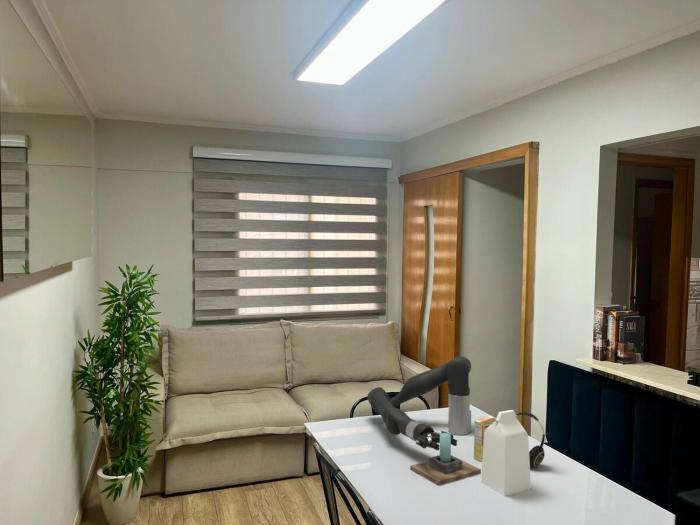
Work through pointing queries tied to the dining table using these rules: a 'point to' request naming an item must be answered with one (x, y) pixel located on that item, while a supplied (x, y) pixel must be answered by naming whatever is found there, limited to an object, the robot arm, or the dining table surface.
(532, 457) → the headphones
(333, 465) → the dining table surface
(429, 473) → the wooden peg socket board
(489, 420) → the candy box
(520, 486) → the milk
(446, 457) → the teal peg
